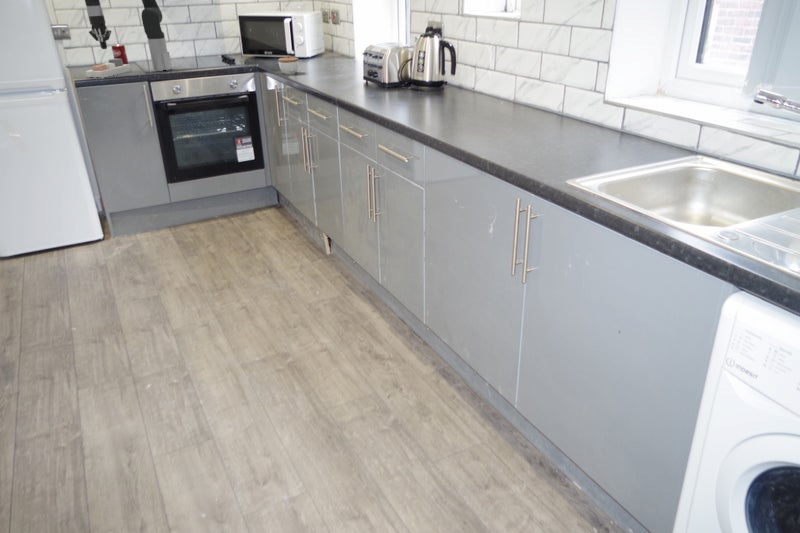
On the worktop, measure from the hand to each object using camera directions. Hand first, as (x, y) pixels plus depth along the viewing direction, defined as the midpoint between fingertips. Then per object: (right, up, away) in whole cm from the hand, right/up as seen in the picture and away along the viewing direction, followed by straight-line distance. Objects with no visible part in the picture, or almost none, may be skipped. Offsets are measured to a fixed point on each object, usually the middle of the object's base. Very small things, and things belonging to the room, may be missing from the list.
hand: (104, 48), depth 328 cm
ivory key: (0, -10, +6) cm, 12 cm away
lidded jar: (+102, -15, -4) cm, 104 cm away
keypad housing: (0, -12, +7) cm, 14 cm away
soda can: (-5, +1, +33) cm, 33 cm away
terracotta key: (-2, -13, 0) cm, 14 cm away
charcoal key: (+2, -6, +11) cm, 13 cm away
